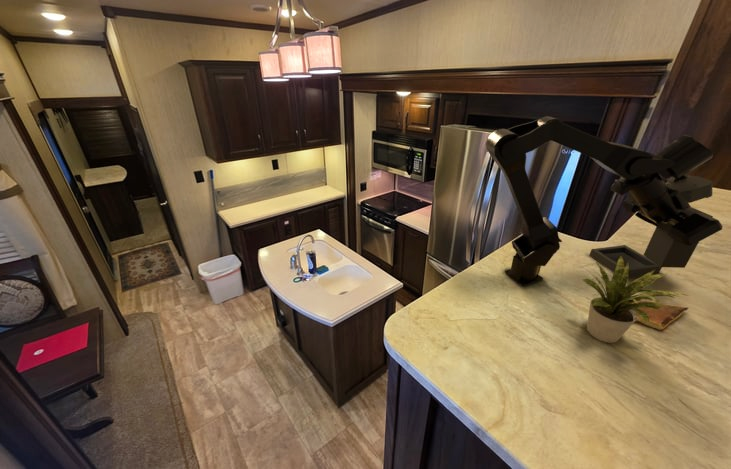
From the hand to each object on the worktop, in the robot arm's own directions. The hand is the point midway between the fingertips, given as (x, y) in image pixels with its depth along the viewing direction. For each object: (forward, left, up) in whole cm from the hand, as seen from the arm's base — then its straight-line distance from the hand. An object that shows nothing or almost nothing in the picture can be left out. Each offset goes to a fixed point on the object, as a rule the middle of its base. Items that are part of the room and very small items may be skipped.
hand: (682, 237), depth 66 cm
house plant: (-31, -8, -12) cm, 34 cm away
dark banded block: (-1, 0, -7) cm, 7 cm away
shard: (-15, -7, -12) cm, 20 cm away
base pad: (-2, +7, -11) cm, 14 cm away
